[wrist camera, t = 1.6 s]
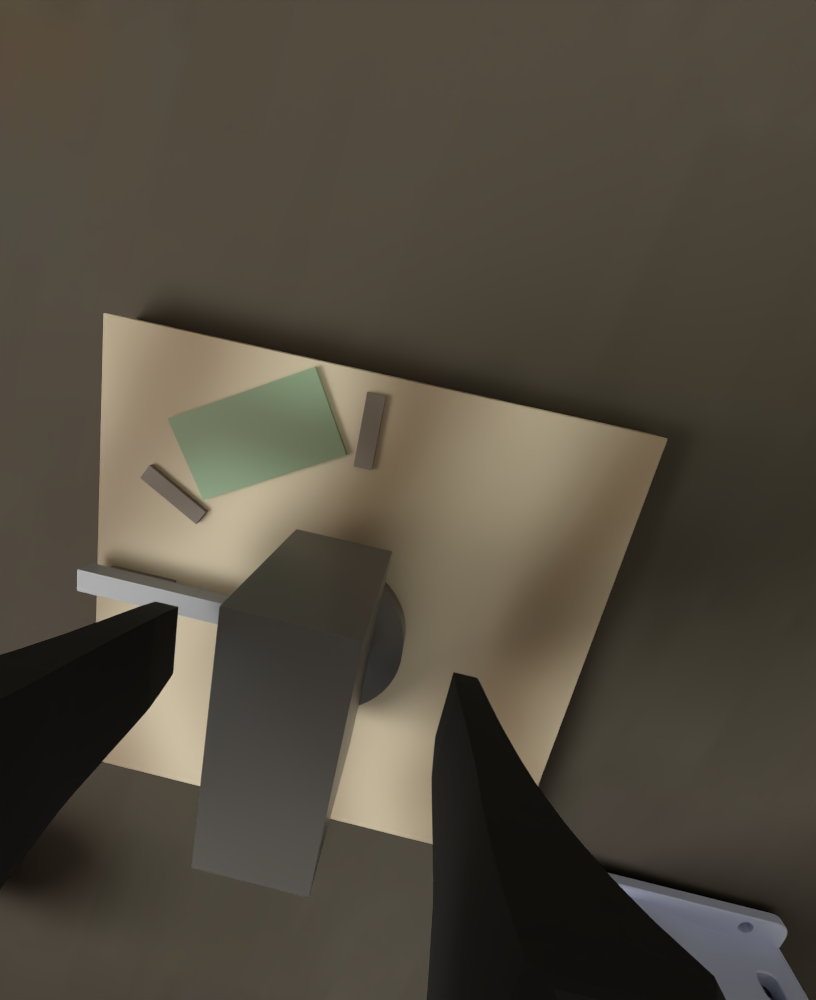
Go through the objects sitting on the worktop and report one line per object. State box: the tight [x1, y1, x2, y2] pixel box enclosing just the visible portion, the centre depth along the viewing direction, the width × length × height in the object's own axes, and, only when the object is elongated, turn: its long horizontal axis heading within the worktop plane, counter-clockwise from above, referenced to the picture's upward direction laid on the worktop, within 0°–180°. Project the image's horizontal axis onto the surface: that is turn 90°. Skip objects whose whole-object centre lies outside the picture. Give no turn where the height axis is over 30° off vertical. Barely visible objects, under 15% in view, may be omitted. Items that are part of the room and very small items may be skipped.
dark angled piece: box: [77, 529, 406, 898], centre depth 11 cm, size 10×6×5 cm, turn 78°
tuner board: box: [96, 313, 667, 844], centre depth 14 cm, size 15×15×1 cm
